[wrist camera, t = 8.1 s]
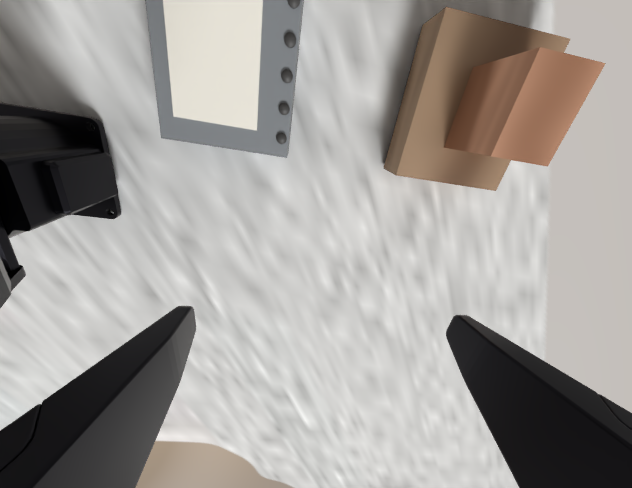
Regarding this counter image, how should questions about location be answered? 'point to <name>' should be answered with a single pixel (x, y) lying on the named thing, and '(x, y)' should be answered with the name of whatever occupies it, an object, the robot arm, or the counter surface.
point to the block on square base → (485, 100)
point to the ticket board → (226, 71)
